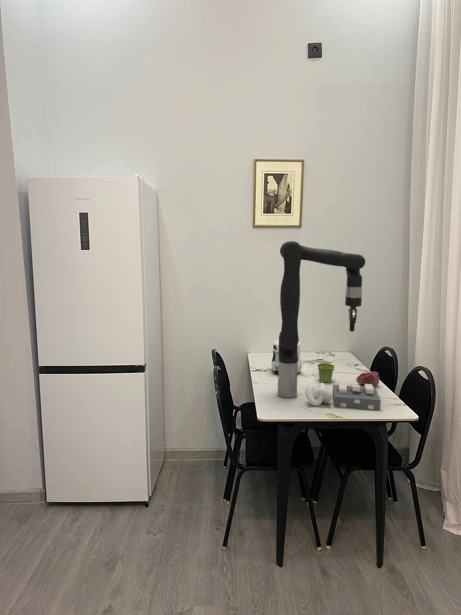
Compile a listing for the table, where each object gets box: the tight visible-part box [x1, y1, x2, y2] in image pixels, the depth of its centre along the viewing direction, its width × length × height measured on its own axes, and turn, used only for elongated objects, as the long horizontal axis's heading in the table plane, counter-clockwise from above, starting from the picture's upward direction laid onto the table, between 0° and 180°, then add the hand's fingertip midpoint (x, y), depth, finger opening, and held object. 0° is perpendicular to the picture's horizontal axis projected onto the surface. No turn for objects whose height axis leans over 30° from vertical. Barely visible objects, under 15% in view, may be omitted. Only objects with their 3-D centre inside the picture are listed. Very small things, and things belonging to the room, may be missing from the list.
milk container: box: [270, 339, 302, 374], centre depth 232 cm, size 17×17×18 cm
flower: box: [355, 371, 380, 387], centre depth 210 cm, size 11×10×10 cm
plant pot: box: [316, 362, 336, 384], centre depth 218 cm, size 9×9×9 cm
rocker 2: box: [350, 384, 360, 392], centre depth 189 cm, size 3×7×2 cm, turn 168°
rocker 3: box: [363, 384, 374, 394], centre depth 188 cm, size 3×7×2 cm, turn 168°
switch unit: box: [332, 384, 382, 411], centre depth 189 cm, size 20×16×7 cm
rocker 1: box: [338, 380, 347, 394], centre depth 190 cm, size 3×7×2 cm, turn 168°
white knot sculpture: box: [304, 382, 332, 407], centre depth 188 cm, size 11×12×9 cm
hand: (351, 331), depth 196 cm, fingers closed
